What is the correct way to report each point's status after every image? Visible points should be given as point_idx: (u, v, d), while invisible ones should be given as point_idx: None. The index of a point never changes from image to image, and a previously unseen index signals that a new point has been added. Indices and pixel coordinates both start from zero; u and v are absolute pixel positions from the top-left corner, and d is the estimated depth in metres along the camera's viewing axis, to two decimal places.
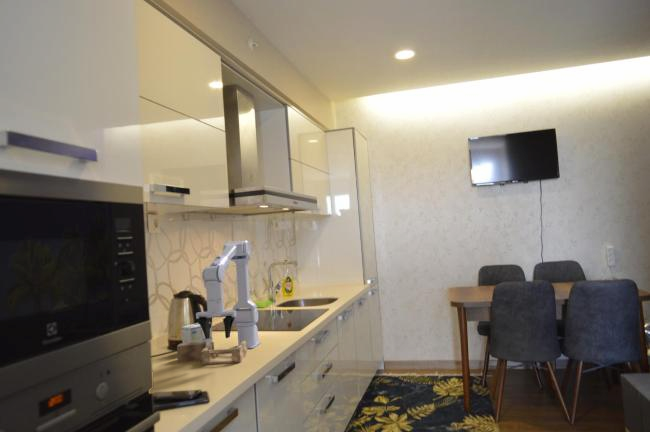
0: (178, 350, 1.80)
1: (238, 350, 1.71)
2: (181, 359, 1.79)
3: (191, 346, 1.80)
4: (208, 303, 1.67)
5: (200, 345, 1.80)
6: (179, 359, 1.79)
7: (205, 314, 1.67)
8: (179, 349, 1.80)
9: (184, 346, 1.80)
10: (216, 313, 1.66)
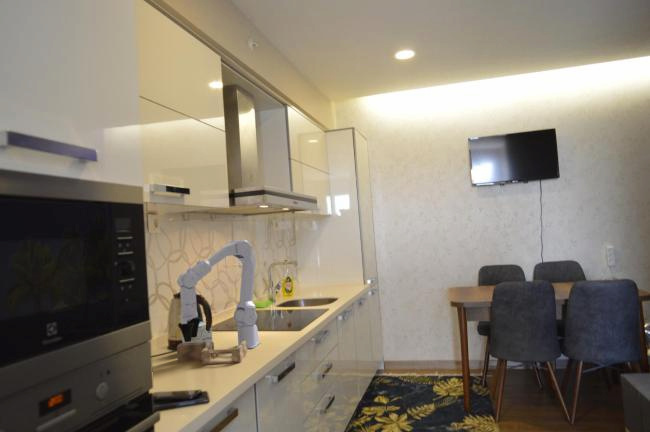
0: (178, 350, 1.80)
1: (238, 350, 1.71)
2: (181, 359, 1.79)
3: (191, 346, 1.80)
4: None
5: (200, 345, 1.79)
6: (179, 359, 1.79)
7: None
8: (179, 349, 1.80)
9: (184, 346, 1.80)
10: (181, 316, 1.81)
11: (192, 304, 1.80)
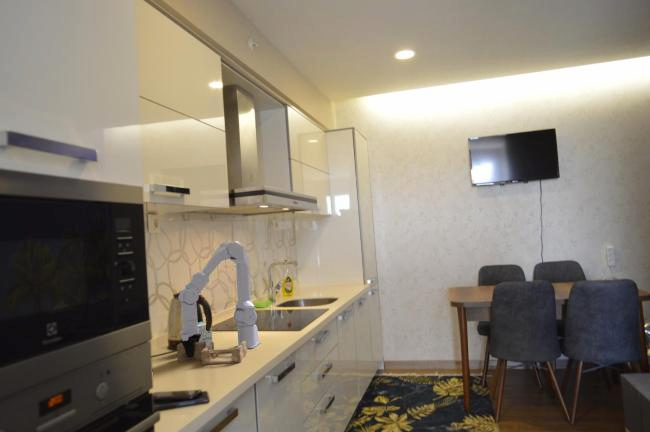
0: (178, 350, 1.80)
1: (238, 350, 1.71)
2: (181, 359, 1.79)
3: None
4: None
5: (200, 345, 1.79)
6: (179, 359, 1.79)
7: None
8: (179, 349, 1.80)
9: None
10: (182, 332, 1.80)
11: (193, 320, 1.80)
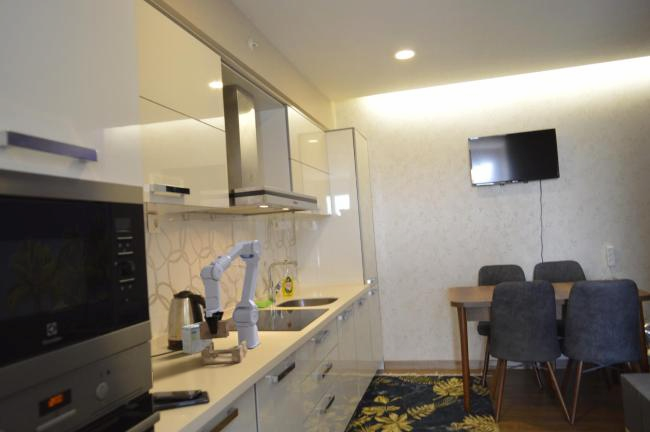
0: (200, 328, 1.78)
1: (238, 350, 1.71)
2: (203, 337, 1.77)
3: None
4: None
5: (222, 322, 1.77)
6: (201, 337, 1.77)
7: None
8: (201, 327, 1.78)
9: (206, 324, 1.78)
10: (205, 309, 1.78)
11: (216, 297, 1.78)
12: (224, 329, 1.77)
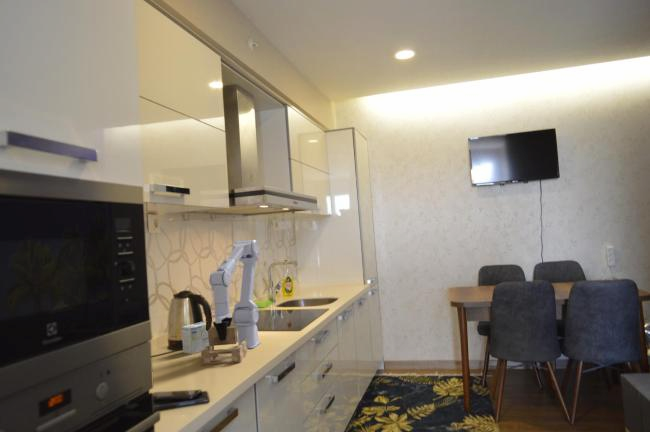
0: (209, 334, 1.77)
1: (238, 350, 1.71)
2: (212, 343, 1.76)
3: None
4: None
5: (231, 329, 1.76)
6: (210, 343, 1.76)
7: None
8: (210, 333, 1.77)
9: (215, 330, 1.77)
10: (214, 315, 1.77)
11: (225, 303, 1.77)
12: (233, 335, 1.76)
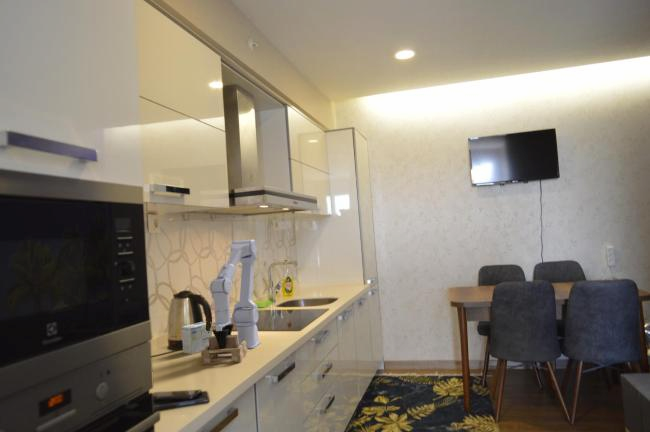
0: (210, 343, 1.76)
1: (238, 350, 1.71)
2: None
3: None
4: None
5: (232, 338, 1.76)
6: None
7: None
8: (211, 342, 1.77)
9: (216, 339, 1.76)
10: (215, 323, 1.77)
11: (226, 310, 1.77)
12: (234, 344, 1.76)
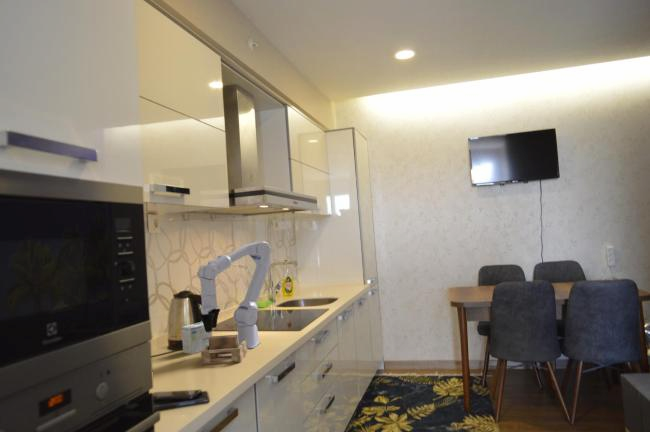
0: (210, 343, 1.76)
1: (238, 350, 1.71)
2: None
3: (223, 338, 1.76)
4: None
5: (232, 338, 1.76)
6: None
7: None
8: (211, 342, 1.77)
9: (216, 339, 1.76)
10: (201, 307, 1.85)
11: (212, 295, 1.84)
12: (234, 344, 1.76)
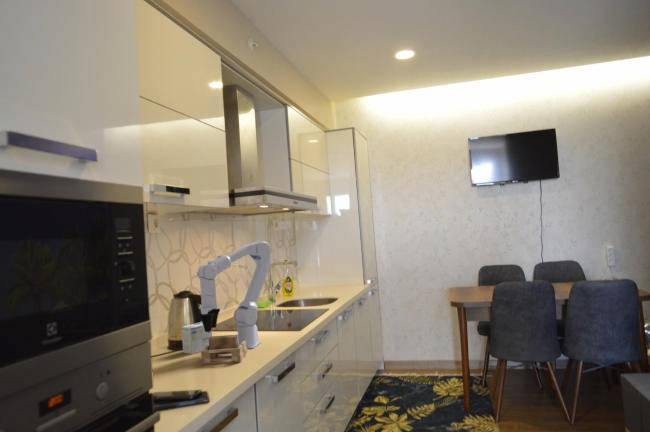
0: (210, 343, 1.76)
1: (238, 350, 1.71)
2: None
3: (223, 338, 1.76)
4: None
5: (232, 338, 1.76)
6: None
7: None
8: (211, 342, 1.77)
9: (216, 339, 1.76)
10: (201, 307, 1.85)
11: (212, 295, 1.84)
12: (234, 344, 1.76)
